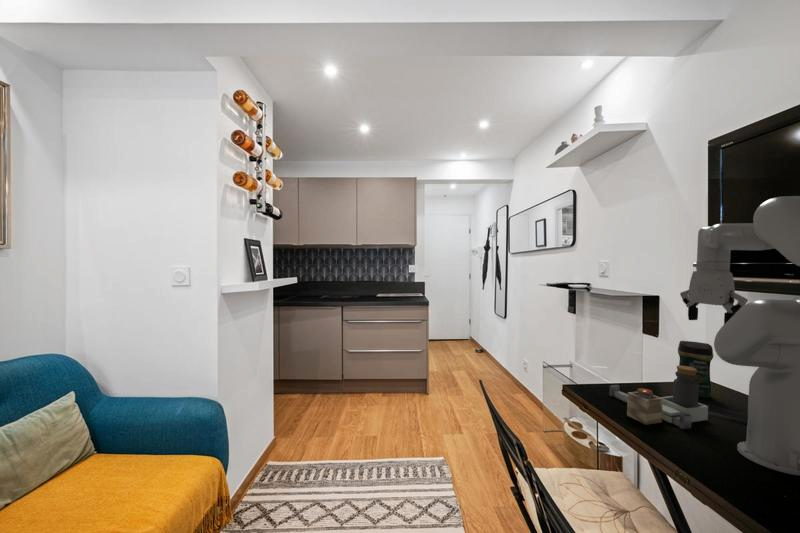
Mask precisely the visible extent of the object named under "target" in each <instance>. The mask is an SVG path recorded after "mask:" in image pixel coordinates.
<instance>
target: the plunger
mask: <svg viewBox="0 0 800 533" xmlns="http://www.w3.org/2000/svg"><path fill="white" fill-rule="evenodd" d="M637 391H638V396H640V397H642V398H645V399H652V397H653V395H654V391H653V390H651V389H648V388H641V387H638V388H637V390H636V392H637Z"/></svg>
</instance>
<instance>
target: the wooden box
mask: <svg viewBox="0 0 800 533" xmlns="http://www.w3.org/2000/svg"><path fill="white" fill-rule="evenodd" d="M627 394H628V401H627V405H626V416H627V417H629V418H632V419H633V420H635V421H638V422H639V423H641V424H644V425H652V424H660V423H662V422H663V419H662V405H663V399H662V398H660V396H657V395H655V394H653V397H652V399H645V398H642V397H640V396H638V391H637V390H636V391H630V392H629V391H628V392H627Z"/></svg>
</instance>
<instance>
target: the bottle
mask: <svg viewBox="0 0 800 533" xmlns="http://www.w3.org/2000/svg"><path fill="white" fill-rule="evenodd" d="M676 369H677V371H675V372H674V373H675V376H676V378H675V379H673V388H672V391H673V392H672V396H673V403H675V404H677V405H680V406H682V407H685V408H692V407H698V403H699V397H698V392H699V385H698V384H697V383H696V382H695V380H696V379H697V375H696V372H697V369H695V368H692V367H688V366H679V365H676ZM677 376H678V378H677Z"/></svg>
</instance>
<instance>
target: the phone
mask: <svg viewBox="0 0 800 533" xmlns="http://www.w3.org/2000/svg"><path fill="white" fill-rule="evenodd" d="M699 403H700V402H699ZM700 404H703V405H706V406H708V416H712V417H715V418H719V419H723V420H726V421H727V420H728V421H731V422H734V423H739V424H742V425H745V426H746V425H747V419H748V413H744V412H741V411H737V410H731V409H729V408H724V407H720V406H717V405H713V404H708V403H704V402H703V403H702V402H701V403H700Z"/></svg>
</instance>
